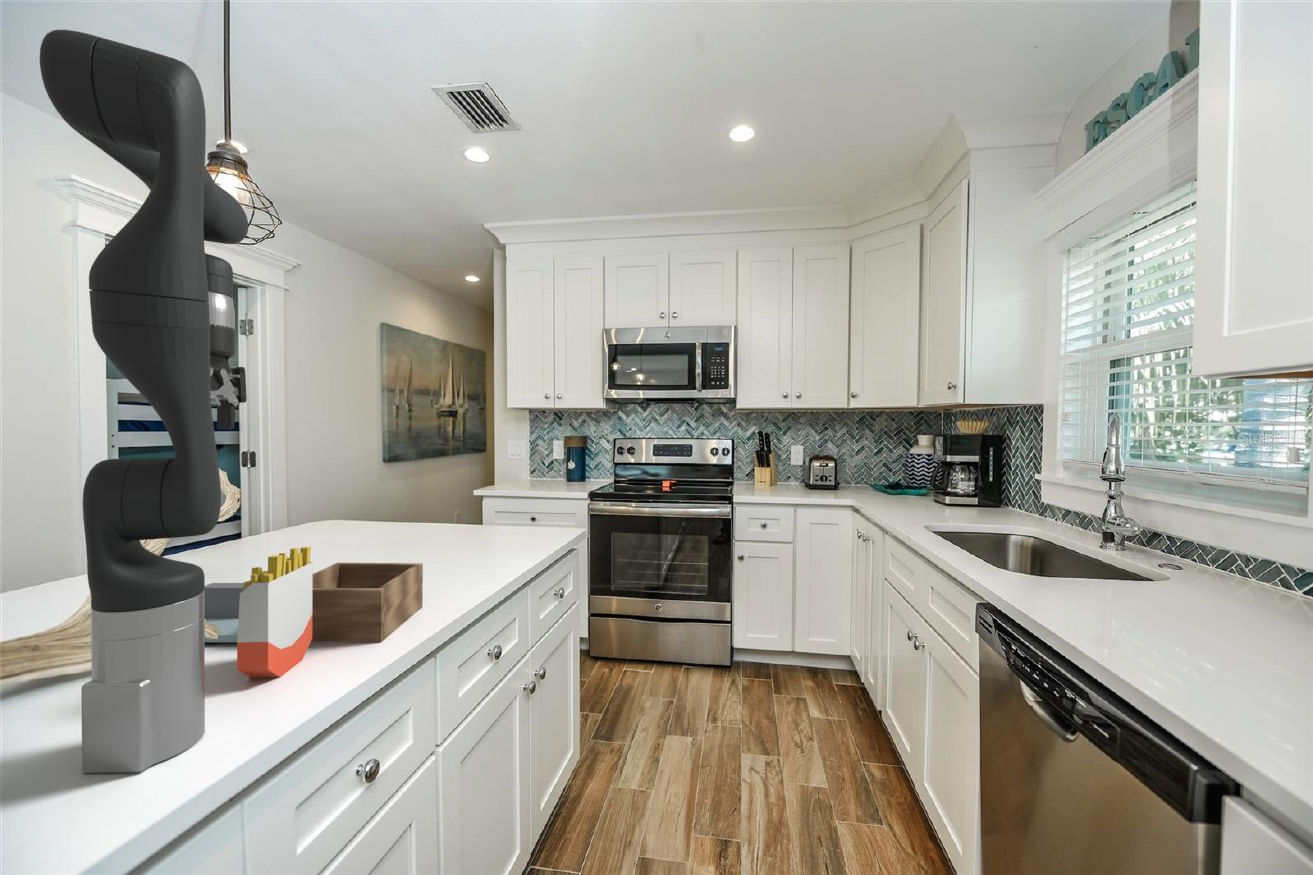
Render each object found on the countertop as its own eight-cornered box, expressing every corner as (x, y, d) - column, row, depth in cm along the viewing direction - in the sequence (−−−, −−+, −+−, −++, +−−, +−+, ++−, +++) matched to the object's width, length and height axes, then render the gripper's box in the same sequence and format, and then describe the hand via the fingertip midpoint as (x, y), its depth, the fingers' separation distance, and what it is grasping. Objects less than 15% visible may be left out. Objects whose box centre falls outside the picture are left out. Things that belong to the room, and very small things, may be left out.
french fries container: (234, 687, 73) (234, 560, 72) (282, 653, 83) (283, 542, 83) (268, 686, 73) (268, 560, 72) (312, 652, 84) (313, 542, 83)
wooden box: (381, 642, 88) (381, 590, 88) (279, 642, 87) (279, 589, 87) (422, 607, 105) (422, 563, 105) (337, 606, 104) (337, 562, 104)
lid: (242, 648, 86) (242, 602, 85) (129, 648, 85) (129, 602, 85) (310, 609, 104) (310, 571, 103) (217, 609, 103) (217, 571, 103)
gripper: (188, 315, 72) (189, 430, 73) (262, 333, 87) (262, 429, 87) (133, 313, 72) (133, 429, 72) (216, 332, 86) (216, 428, 87)
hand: (203, 429), depth 80 cm, fingers open, 8 cm apart
